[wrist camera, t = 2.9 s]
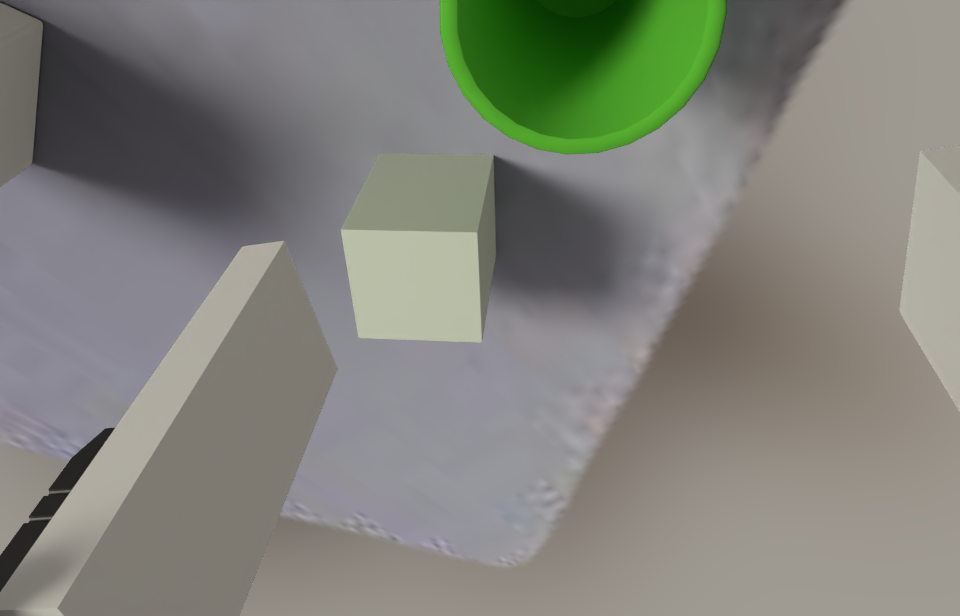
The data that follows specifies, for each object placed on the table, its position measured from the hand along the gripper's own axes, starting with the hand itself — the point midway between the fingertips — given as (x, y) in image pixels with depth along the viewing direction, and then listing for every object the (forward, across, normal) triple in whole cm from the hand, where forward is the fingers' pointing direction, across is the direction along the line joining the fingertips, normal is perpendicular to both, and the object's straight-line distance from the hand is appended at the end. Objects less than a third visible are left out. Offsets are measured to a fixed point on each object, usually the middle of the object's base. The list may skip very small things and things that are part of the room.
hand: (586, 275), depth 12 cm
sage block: (+26, -9, -11) cm, 29 cm away
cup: (+26, 0, 0) cm, 26 cm away
